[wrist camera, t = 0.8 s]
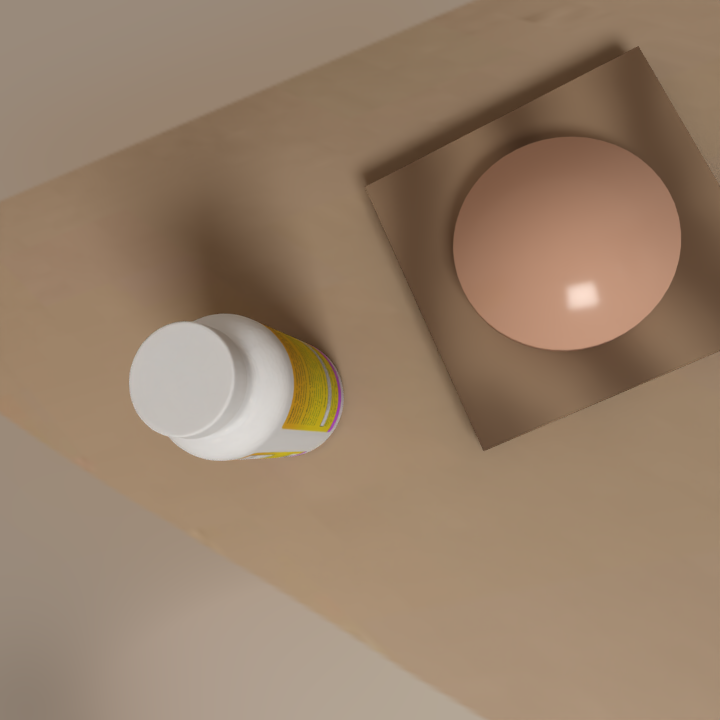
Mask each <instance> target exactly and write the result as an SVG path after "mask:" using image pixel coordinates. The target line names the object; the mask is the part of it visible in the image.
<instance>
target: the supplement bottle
mask: <svg viewBox="0 0 720 720" xmlns="http://www.w3.org/2000/svg"><path fill="white" fill-rule="evenodd" d="M129 389H130V396H131V400H132V403H133V405H134V408H135V410H136V412H137V414H138V415H139V417H140V418H141V419H142V420H143V421H144V423H145V424H147V425H148V426H149V427H150V428H151V429H153V430H154V431H156V432H158V433H160V434H162V435H165V436H168V437H169V438H170V439H171V440H172V441H173V442H174V443H175V444H176V445H178V446H179V447H180V448H181V449H183V450H184V451H186V452H188V453H190V454H192V455H194V456H196V457H200V458H203V459H208V460H217V461H224V460H240V459H258V458H279V457H291V456H297V455H301V454H305V453H307V452H310V451H312V450H314V449H315V448H317V447H318V446H320V445H321V444H322V443H324V442H325V441H326V440H327V439H328V437H329V436H330V435H331V434H332V432H333V431H334V429H335V428H336V426H337V424H338V422H339V419H340V417H341V413H342V409H343V401H344V394H343V386H342V382H341V378H340V376H339V373H338V371H337V369H336V367H335V366H334V364H333V363H332V362H331V360H330V359H329V358H328V357H327V356H326V355H325V354H324V353H323V352H321V351H320V350H318V349H317V348H315V347H313V346H311V345H310V344H307V343H305V342H303V341H300V340H298V339H296V338H293V337H291V336H289V335H286V334H284V333H282V332H280V331H277V330H275V329H273V328H270V327H268V326H266V325H264V324H261V323H259V322H257V321H255V320H252V319H250V318H247V317H244V316H240V315H235V314H214V315H209V316H205V317H202V318H199V319H197V320H195V321H193V322H191V321H181V322H174V323H171V324H168V325H165V326H163V327H161V328H160V329H158V330H156V331H155V332H153V333H152V334H151V335H150V336H149V337H148V338H147V339H146V340H145V341H144V342H143V344H142V345H141V346H140V348H139V349H138V351H137V353H136V355H135V357H134V360H133V363H132V366H131V370H130V376H129Z"/></svg>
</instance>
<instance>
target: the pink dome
mask: <svg viewBox="0 0 720 720" xmlns="http://www.w3.org/2000/svg"><path fill="white" fill-rule="evenodd" d="M680 249H681V228H680V221H679V216H678V213H677V209H676V206H675V203H674V201H673V199H672V197H671V195H670V193H669V191H668V189H667V187H666V186H665V184H664V183H663V181H662V180H661V179H660V177H659V176H658V175H657V174H656V173H655V172H654V171H653V169H652V168H651V167H649V166H648V165H647V164H646V163H645V162H644V161H642V160H641V159H640V158H638V157H637V156H635V155H634V154H632V153H631V152H629V151H627V150H625V149H623V148H621V147H619V146H617V145H614V144H611V143H608V142H605V141H602V140H597V139H592V138H586V137H557V138H551V139H545V140H541V141H538V142H534V143H531V144H528V145H526V146H523V147H521V148H519V149H516V150H515V151H513V152H511V153H509V154H508V155H506V156H504V157H503V158H501V159H500V160H499V161H497V162H496V163H495V164H493V165H492V166H491V167H490V168H489V169H488V170H487V171H486V172H485V173H484V174H483V175H482V176H481V177H480V178H479V179H478V181H477V182H476V183H475V184H474V185H473V187H472V189H471V190H470V192H469V193H468V195H467V196H466V198H465V200H464V203H463V205H462V207H461V209H460V212H459V215H458V218H457V221H456V225H455V231H454V239H453V254H454V263H455V268H456V272H457V276H458V278H459V281H460V284H461V286H462V289H463V291H464V293H465V295H466V297H467V299H468V301H469V302H470V304H471V305H472V307H473V308H474V309H475V311H476V312H477V313H478V315H479V316H480V317H481V318H482V319H483V320H484V321H485V322H486V323H487V324H488V325H489V326H491V327H492V328H493V329H495V330H496V331H497V332H498V333H500V334H502V335H503V336H505V337H507V338H509V339H510V340H512V341H515V342H517V343H520V344H522V345H524V346H528V347H532V348H535V349H540V350H547V351H561V352H568V351H578V350H584V349H589V348H593V347H597V346H600V345H602V344H605V343H608V342H610V341H612V340H614V339H616V338H618V337H620V336H622V335H624V334H625V333H627V332H628V331H630V330H631V329H633V328H634V327H635V326H637V325H638V324H639V323H640V322H641V321H642V320H643V319H644V318H645V317H647V316H648V315H649V313H650V312H651V311H652V310H653V309H654V308H655V306H656V305H657V304H658V303H659V302H660V301H661V299H662V297H663V296H664V294H665V293H666V291H667V290H668V288H669V286H670V284H671V281H672V279H673V277H674V275H675V272H676V268H677V265H678V262H679V256H680Z"/></svg>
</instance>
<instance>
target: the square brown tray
mask: <svg viewBox="0 0 720 720" xmlns="http://www.w3.org/2000/svg"><path fill="white" fill-rule="evenodd" d="M557 137H586V138H592V139H597V140H602V141H605V142H608V143H611V144H614V145H617V146H619V147H621V148H623V149H625V150H627V151H629V152H631V153H632V154H634V155H635V156H637V157H638V158H640V159H641V160H642V161H644V162H645V163H646V164H647V165H648V166H649V167H651V168H652V169H653V171H654V172H655V173H656V174H657V175H658V176H659V177H660V179H661V180H662V181H663V183H664V184H665V186H666V187H667V189H668V191H669V193H670V195H671V197H672V199H673V201H674V203H675V206H676V209H677V213H678V216H679V221H680V228H681V249H680V256H679V262H678V265H677V268H676V272H675V275H674V277H673V279H672V281H671V284H670V286H669V288H668V290H667V291H666V293H665V294H664V296H663V297H662V299H661V301H660V302H659V303H658V304H657V305H656V306H655V308H654V309H653V310H652V311H651V312H650V313H649V315H648V316H647V317H645V318H644V319H643V320H642V321H641V322H640V323H639V324H638V325H637V326H635V327H634V328H633V329H631V330H630V331H628V332H627V333H625V334H624V335H622V336H620V337H618V338H616V339H614V340H612V341H610V342H608V343H605V344H602V345H600V346H597V347H593V348H589V349H584V350H578V351H568V352H561V351H547V350H540V349H535V348H532V347H528V346H524V345H522V344H520V343H517V342H515V341H512V340H510V339H509V338H507V337H505V336H503V335H502V334H500V333H498V332H497V331H496V330H495V329H493V328H492V327H491V326H489V325H488V324H487V323H486V322H485V321H484V320H483V319H482V318H481V317H480V316H479V315H478V313H477V312H476V311H475V309H474V308H473V307H472V305H471V304H470V302H469V301H468V299H467V297H466V295H465V293H464V291H463V289H462V286H461V284H460V281H459V278H458V276H457V272H456V268H455V263H454V254H453V239H454V231H455V225H456V221H457V218H458V215H459V212H460V209H461V207H462V205H463V203H464V200H465V198H466V196H467V195H468V193H469V192H470V190H471V189H472V187H473V185H474V184H475V183H476V182H477V181H478V179H479V178H480V177H481V176H482V175H483V174H484V173H485V172H486V171H487V170H488V169H489V168H490V167H491V166H492V165H493V164H495V163H496V162H497V161H499V160H500V159H501V158H503V157H504V156H506V155H508V154H509V153H511V152H513V151H515V150H516V149H519V148H521V147H523V146H526V145H528V144H531V143H534V142H538V141H541V140H545V139H551V138H557ZM365 189H366V191H367V193H368V195H369V197H370V200H371V202H372V204H373V206H374V209H375V211H376V213H377V215H378V217H379V220H380V222H381V224H382V226H383V229H384V231H385V233H386V235H387V237H388V240H389V242H390V244H391V246H392V249H393V251H394V253H395V255H396V257H397V260H398V262H399V264H400V266H401V269H402V271H403V273H404V275H405V277H406V280H407V282H408V284H409V286H410V289H411V291H412V293H413V295H414V297H415V300H416V302H417V304H418V306H419V309H420V311H421V313H422V315H423V317H424V320H425V322H426V324H427V326H428V328H429V331H430V333H431V335H432V337H433V340H434V342H435V344H436V346H437V348H438V351H439V353H440V355H441V357H442V360H443V362H444V364H445V366H446V368H447V371H448V373H449V375H450V377H451V380H452V382H453V384H454V386H455V388H456V391H457V393H458V395H459V397H460V400H461V402H462V404H463V406H464V408H465V411H466V413H467V415H468V417H469V420H470V422H471V424H472V426H473V428H474V431H475V433H476V435H477V437H478V440H479V442H480V444H481V446H482V448H483V451H485V450H488V449H490V448H492V447H495V446H497V445H499V444H502V443H504V442H506V441H509V440H511V439H513V438H516V437H518V436H520V435H523V434H525V433H528V432H530V431H532V430H535V429H537V428H539V427H542V426H544V425H546V424H549V423H551V422H553V421H556V420H558V419H560V418H563V417H565V416H568V415H570V414H572V413H575V412H577V411H579V410H582V409H584V408H586V407H589V406H591V405H593V404H596V403H598V402H601V401H603V400H605V399H608V398H610V397H612V396H615V395H617V394H619V393H622V392H624V391H626V390H629V389H631V388H633V387H636V386H638V385H641V384H643V383H645V382H648V381H650V380H652V379H655V378H657V377H659V376H662V375H664V374H666V373H669V372H671V371H673V370H676V369H678V368H681V367H683V366H685V365H688V364H690V363H692V362H695V361H697V360H699V359H702V358H704V357H706V356H709V355H711V354H714V353H716V352H718V351H720V186H719V184H718V182H717V181H716V179H715V177H714V175H713V174H712V172H711V170H710V168H709V167H708V165H707V163H706V162H705V160H704V158H703V156H702V155H701V153H700V151H699V150H698V148H697V146H696V144H695V143H694V141H693V139H692V138H691V136H690V134H689V132H688V131H687V129H686V127H685V125H684V124H683V122H682V120H681V119H680V117H679V115H678V113H677V112H676V110H675V108H674V107H673V105H672V103H671V101H670V100H669V98H668V96H667V95H666V93H665V91H664V89H663V88H662V86H661V84H660V83H659V81H658V79H657V77H656V76H655V74H654V72H653V70H652V69H651V67H650V65H649V64H648V62H647V60H646V58H645V57H644V55H643V53H642V52H641V50H640V48H639V46H638V47H636V48H634V49H632V50H630V51H628V52H626V53H624V54H622V55H620V56H618V57H616V58H614V59H613V60H611V61H609V62H607V63H605V64H603V65H601V66H599V67H597V68H595V69H593V70H591V71H589V72H587V73H585V74H583V75H581V76H579V77H577V78H576V79H574V80H572V81H570V82H568V83H566V84H564V85H562V86H560V87H558V88H556V89H554V90H552V91H550V92H548V93H546V94H544V95H542V96H541V97H539V98H537V99H535V100H533V101H531V102H529V103H527V104H525V105H523V106H521V107H519V108H517V109H515V110H513V111H511V112H509V113H507V114H506V115H504V116H502V117H500V118H498V119H496V120H494V121H492V122H490V123H488V124H486V125H484V126H482V127H480V128H478V129H476V130H474V131H472V132H470V133H469V134H467V135H465V136H463V137H461V138H459V139H457V140H455V141H453V142H451V143H449V144H447V145H445V146H443V147H441V148H439V149H437V150H435V151H434V152H432V153H430V154H428V155H426V156H424V157H422V158H420V159H418V160H416V161H414V162H412V163H410V164H408V165H406V166H404V167H402V168H400V169H399V170H397V171H395V172H393V173H391V174H389V175H387V176H385V177H383V178H381V179H379V180H377V181H375V182H373V183H371V184H369V185H367V186H365Z"/></svg>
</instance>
